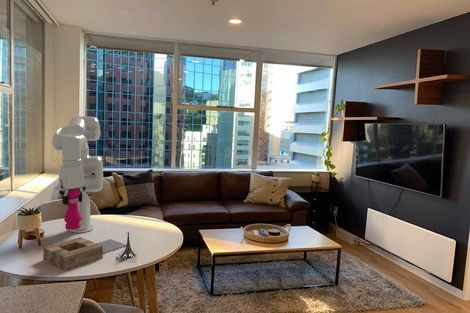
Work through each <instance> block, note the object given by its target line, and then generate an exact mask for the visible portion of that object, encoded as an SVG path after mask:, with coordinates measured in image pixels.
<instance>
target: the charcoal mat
mask: <svg viewBox="0 0 470 313" xmlns="http://www.w3.org/2000/svg"><path fill="white" fill-rule="evenodd" d="M96 243H97V244H100V245H103V255H104V254H107V252H108V253H110V251H111V252H113V250H114V251H117V250H120V249H122V247H123V248H126V246H127V243H126V244H125V243H122V242H120V241H117V240H114V239H111V238H110V239H107V240H103V241H100V242H96ZM119 248H120V249H119ZM116 249H117V250H116Z"/></svg>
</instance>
